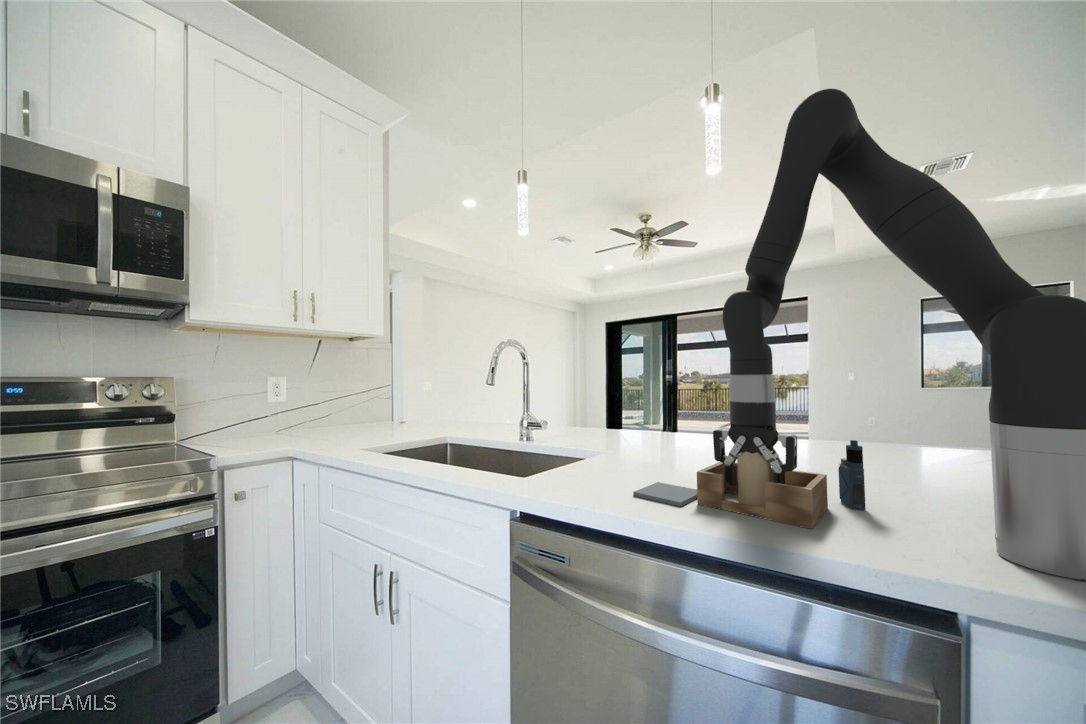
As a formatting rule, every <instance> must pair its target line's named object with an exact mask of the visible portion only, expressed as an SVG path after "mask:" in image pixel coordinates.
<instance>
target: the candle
mask: <svg viewBox="0 0 1086 724" xmlns="http://www.w3.org/2000/svg"><path fill="white" fill-rule="evenodd" d="M736 462H737V465H738V493H737V495H738V503H743V504H748V505H753V506H758V507H763V508H765V482H766V481H767V482H772V475H771V467H772V466H771V465H770V463H769V462H768V461H767V460H766V459H765V457H764V456H763V455H760V454H759V453H758V452H757V453H750V452H746V451H745V452H743V453H741V454H740V455H739V456H738V457H737V460H736Z"/></svg>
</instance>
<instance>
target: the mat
mask: <svg viewBox="0 0 1086 724" xmlns="http://www.w3.org/2000/svg"><path fill="white" fill-rule="evenodd" d="M632 493H633V494H632V496H633V497H637V498H640V497H641V499H645V500H650V501H655V502H659V503H662V502H663V504H666V503H667V505H671V504H672V505H671V506H675V505H677V506H676V507H680V506H682V507H684V506H686V505H688V504H689V502H690V501H691V502H693V501H695V500H697V499H696V498H697V488H696V489H695V488H691V487H685V486H680V485H676V484H670V483H664V482H660V481H657V482H654V483H652V484H650V485H649V484H648V485H647V486H645V487H642V488H639V489H637V490H634V491H633V492H632ZM694 499H695V500H694ZM692 500H693V501H692ZM691 502H690V503H691ZM687 503H688V504H687ZM685 504H686V505H685ZM683 505H684V506H683Z"/></svg>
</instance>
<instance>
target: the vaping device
mask: <svg viewBox="0 0 1086 724" xmlns="http://www.w3.org/2000/svg"><path fill="white" fill-rule="evenodd" d="M849 442H850V443H849V444H846V445H845V453H846V454H845V456H846V458H840V463H839V464H838V465H839V466H838V490H839V492H838V493H839V499H840V503H841V504H842V505H844V506H845V507H847V508H848V509H851V510H856V511H867V510H866V489H865V488H866V486H865V468H864V454H863V452H864V450H863V448H864V447H863V446H862V445H858V443H859V441H858V440H854V439H851V440H849Z"/></svg>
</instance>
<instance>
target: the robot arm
mask: <svg viewBox="0 0 1086 724" xmlns="http://www.w3.org/2000/svg"><path fill="white" fill-rule="evenodd" d="M782 145H783V146H782V151H781V156H780V159H779V160H780V161H779V163H778V169H777V172H776V177H775V181H774V184H773V186H772V191H771V195H770V198H769V201H768V202H767V203H768V204H767V206H766V210H765V213H764V217H763V219H762V222H761V224H760V227H759V228H758V232H757V235H756V237H755V240H754V242H753V244H752V247H751V250H750V252H749V256H748V258H747V261H746V264H745V268H744V270H745V274H746V275H747V278H748V281H747V286H746V290H744V289H743V290H738V291H736V292H733V293H732V294H730V295H729V297H727V299H726V301H725V302H724V305H723V309H722V325H723V328H724V334H725V337H726V342H727V346H728V348H729V361H730V362H729V366H730V367H729V369H730V370H729V373H730V374H729V375H730V377H729V378H730V379H729V393H728V398H729V421H730V422H729V423H730V425H729V426H730V427H729V430H728V429H727V430H726V429H725V430H724V429H722V428H717V429H715V430H713V431H712V438H713V439H712V440H713V442H712V443H713V456H714V460H715V461H716V462H722V463H723V464H724V465H725V469H726V481H727V482H728V483H729V486H733V487H734V486H735V485H736V484H737V473H736V465H735V462H737V457H738V456H739V455H740V454H741V453H743V452H745V451H746V452H750V453H757V452H758V453H759V454H760V455H763V456H764V457H765V459H766V460H767V461H768V462H769V463H770V465H771V467H772V468H773V469H774V471H775V472H774V473H773V481H774V483H780V484H785V472H787V471H792V470H796V469H797V468H798V436H797V435H795V434H791V435H787V434H786V435H785V434H779V433H778V430H777V421H776V420H777V415H776V414H777V413H776V409H777V408H776V387H775V381H774V371H773V368H774V367H773V351H772V348H771V346H770V345H769V344H768V343H767V342H766V339H765V334H764V330H765V329H766V328H769V326H770V325H771V324H772V323H773V321H775V319H776V316H777V314H778V312H779V309H780V307H781V302H782V299H783V293H784V289H785V283H786V277H787V274H788V272H789V270H790V268H791V266H792V264H793V261H794V259H795V256H796V254H797V252H798V248H799V246H800V244H801V240H802V238H803V234H804V231H805V227H806V222H807V219H808V213H809V208H810V204H811V199H812V195H813V192H814V189H815V186H816V183H817V180H818V177H819V175H821V176H823V178H825V179H826V180H827V181H828V182H830V183H831V184H832V185H833V186H834V187H836V188H837V189H838V190H839V191H840V192H841V193H842V194H843V195H844V197H845V198H846V199H847V201H848V203H849V205H851V207H852V209H853V210H854V211H855V212H856V214H857V216H858V217H859V218H860V219H861V221H862V222H863V223H864V224H865V225H866V226H867V228H868V229H869V231H870V232H871V233H872V234H873V235H874V236H875V237H876V238H877V239H878V240H879V241H880V242H881V243H882V244H883V245H884V246H885V247H886V248H887V249H888V251H889V252H891V253H892V255H894V256H895V257H896V258H898V260H900V261H901V262H902V263H903V264H904V265H905V266H906V267H907V268H909V269H910V271H912V272H913V273H914V274H915V275H917V276H918V277H919V278H920V279H921V280H922V281H924V282H925V284H927V285H928V286H930V287H931V288H932V289H933V290H935V291H936V292H937V293H938V294H939V295H940V296H942V297H943V298H944V299H945V300H946V302H948V303H949V304H950V305H951V307H952V308H953V309H954V310H955V311H956V312H957V314H958V315H959V316H960V319H962V321H963V322H964V323H965V324H966V325H967V327H968V328H969V329H970V331H971V332H972V333H973V335H974V336H975V337H976V339H977V340H978V342H979V343H980V345H982V347H983V349H984V351H986V352H987V354H988V355H989V356H990V357H989V358H990V379H991V380H990V381H991V382H990V383H991V388H990V397H989V402H988V418H989V435H990V437H989V438H990V453H991V454H990V457H991V473H992V492H993V493H992V495H993V509H994V510H993V511H994V527H995V528H994V530H995V533H994V540H995V544H996V545H995V549H996V553H997V554H998V555H999V556H1000V557H1002V558H1004V559H1006V560H1008V561H1009V562H1012V563H1015V564H1018V565H1019V566H1022V567H1026V568H1029V569H1031V570H1036V571H1037V572H1041V573H1042V572H1043V573H1045V574H1050V575H1054V576H1060V577H1064V578H1068V579H1075V580H1080V579H1085V580H1084V581H1086V300H1084V299H1083V300H1082V299H1081V298H1078V297H1077V298H1076V297H1074V296H1073V297H1072V296H1068V295H1062V294H1061V295H1060V294H1046V295H1045V294H1044V293H1043V292H1041V291H1040V290H1038V289H1037V288H1036V287H1034V286H1033V285H1032V284H1031V283H1030V282H1028V281H1027V280H1025V279H1024V278H1023V277H1022V276H1021V275H1019V274H1018V273H1017V272H1016V271H1015V270H1014V269H1013V268H1012V267H1011V266H1010V265H1008V263H1007V262H1006V261H1005V259H1003V257H1002V255H1001V254H1000V252H999V251H998V250H997V248H996V246H995V244H994V243H993V241H992V240H991V238H990V236H989V235H988V234H987V232H986V231H985V228H984V227H983V226H982V224H981V223H980V221H979V220H978V219H977V218H976V216H975V215H974V213H972V211H971V210H970V209H969V208H968V207H967V206H966V205H965V204H964V203H963V202H962V201H961V200H959V199H958V198H957V197H956V196H955V195H954V194H953V193H952V192H950V190H948V189H947V188H946V187H945V186H943V184H942V183H940V182H938V181H937V180H936V179H934V177H932V176H930V175H929V174H927V173H924V172H923V171H921V170H919V169H918V168H916V167H913V166H911V165H909V164H906V163H904V162H901V161H900V160H898V159H896V158H894V157H893V156H891V155H890V154H889V153H887V152H886V151H885V150H884V149H883V148H882V147H881V146H880V145H879V144H878V143H877V141H876V140H874V138H873V137H872V136H871V135H870V134H869V133H868V131H867V130H866V129H865V127H864V126H863V125H862V123H861V120H860V119H859V116H858V112H857V110H856V107H855V105H854V102H853V101H852V99H851V97H849V95H848V94H847V93H846V92H844V91H842V90H841V89H837V88H824V89H821V90H819V91H818V90H817V91H816V92H814V93H812V94H810V95H809V96H807V97H806V98H804V100H802V101H801V102H800V104H798V105H797V106H796V108H795V109H794V111H793V113H792V114H791V116H790V118H789V120H788V123H787V127H786V132H785V137H784V140H783V144H782ZM728 438H729V439H730V440H731V442H732V443H733V446H732V447H731V449H730V451H729V453H728V455H726V446H725V445H726V443H725V442H726V441H727V439H728ZM778 442H780V443H781V446H782V447H783V448H785V463H783V461H782V460H781V458H780V456H779V453H778V452H777V450H776V449H775V448H774V446H776V444H777V443H778Z"/></svg>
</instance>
